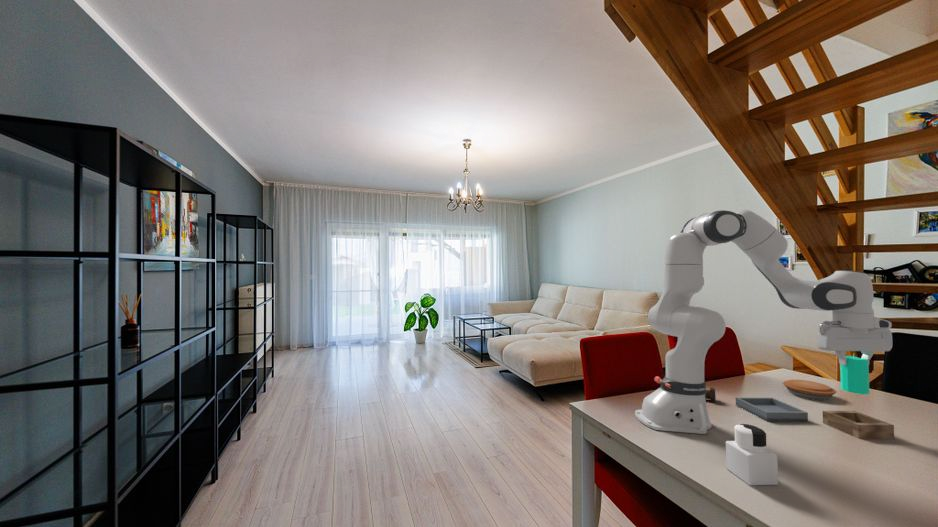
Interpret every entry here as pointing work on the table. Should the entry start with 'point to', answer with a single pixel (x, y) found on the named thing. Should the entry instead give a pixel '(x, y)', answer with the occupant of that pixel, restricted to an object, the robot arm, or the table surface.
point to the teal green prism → (855, 375)
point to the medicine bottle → (751, 456)
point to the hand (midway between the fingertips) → (854, 364)
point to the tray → (772, 409)
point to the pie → (809, 389)
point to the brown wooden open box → (858, 424)
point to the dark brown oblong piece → (711, 394)
